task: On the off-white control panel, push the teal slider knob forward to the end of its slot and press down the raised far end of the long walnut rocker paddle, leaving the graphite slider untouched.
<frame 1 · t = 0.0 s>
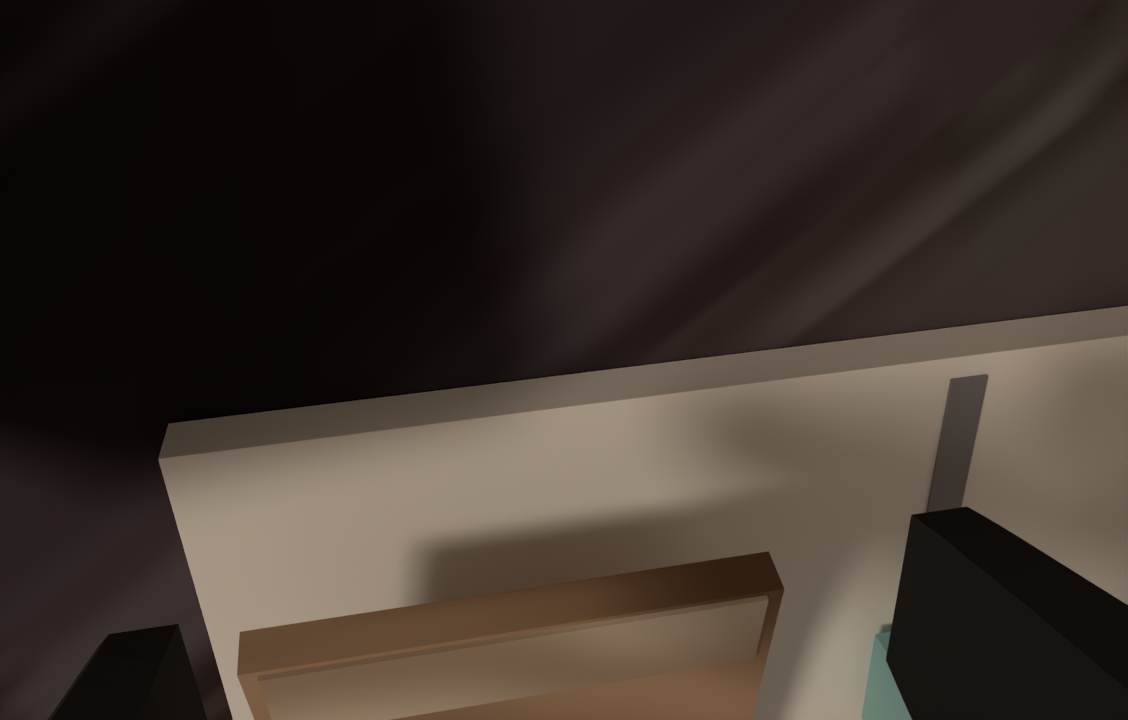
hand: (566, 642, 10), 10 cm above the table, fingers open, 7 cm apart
panel: (782, 624, 25), on the table
teal slider: (953, 716, 23), point 3 cm above the table, slide at 0.0 cm
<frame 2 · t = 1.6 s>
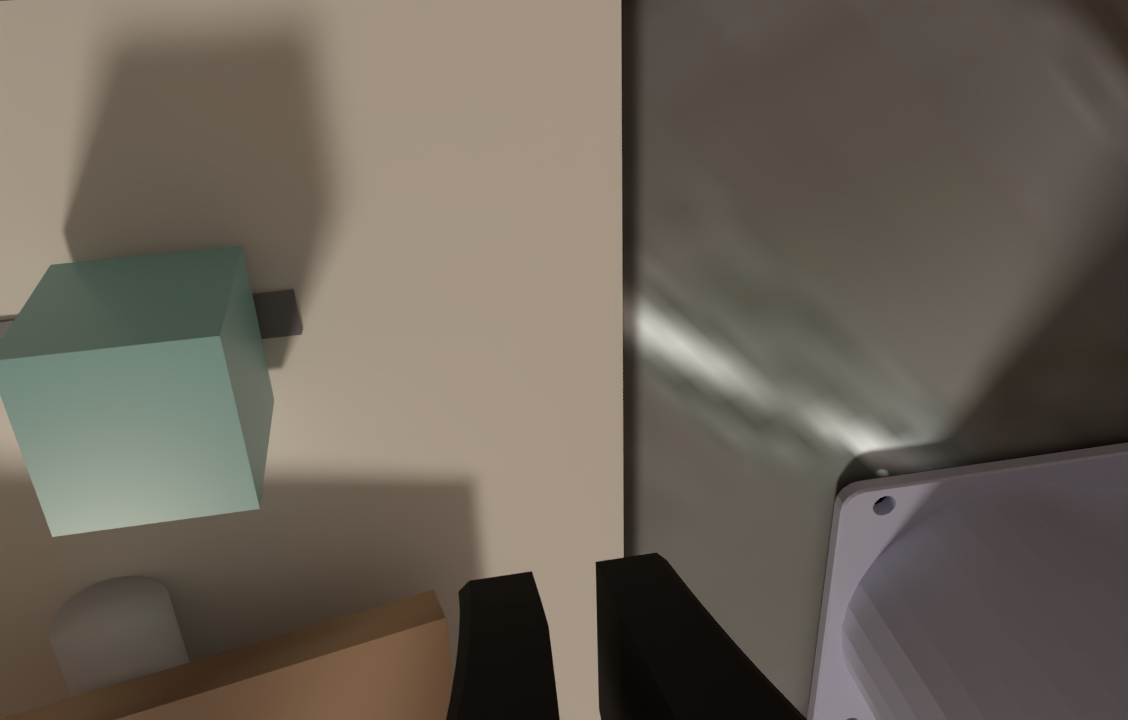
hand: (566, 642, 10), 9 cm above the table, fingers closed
panel: (191, 440, 19), on the table
teal slider: (152, 383, 15), point 3 cm above the table, slide at 0.0 cm
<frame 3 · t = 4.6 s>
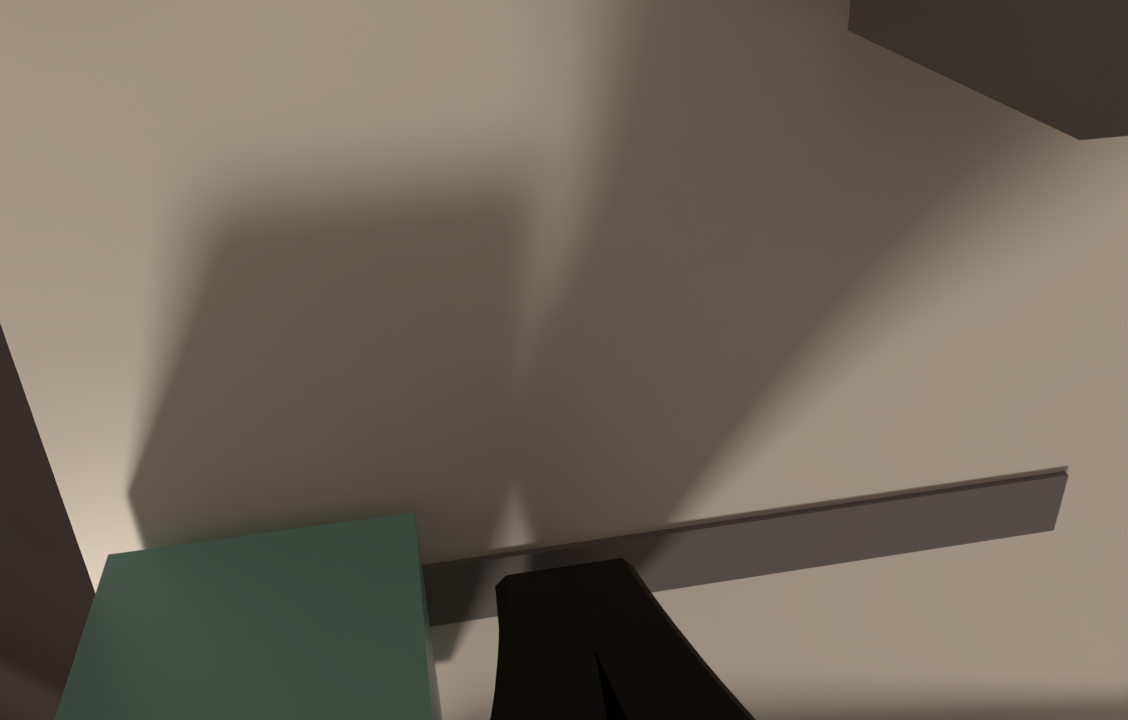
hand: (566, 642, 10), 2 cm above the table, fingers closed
panel: (793, 645, 14), on the table
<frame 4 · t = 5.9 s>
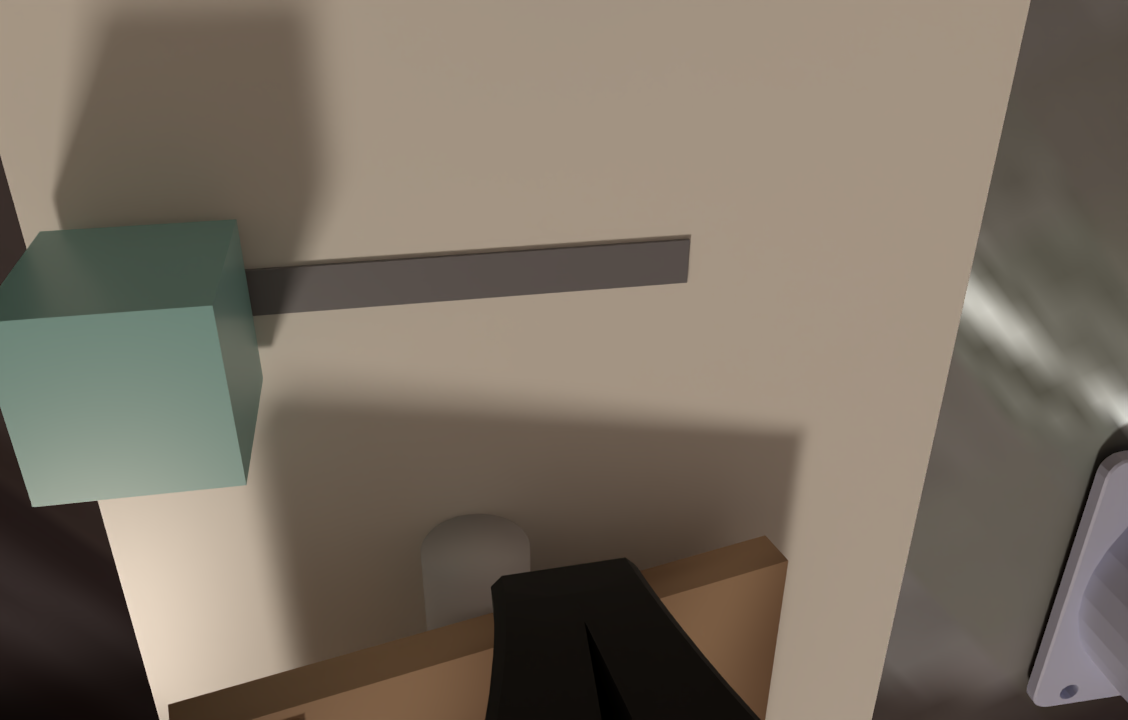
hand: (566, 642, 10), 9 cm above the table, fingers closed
panel: (536, 386, 19), on the table
teal slider: (140, 354, 14), point 3 cm above the table, slide at 6.7 cm
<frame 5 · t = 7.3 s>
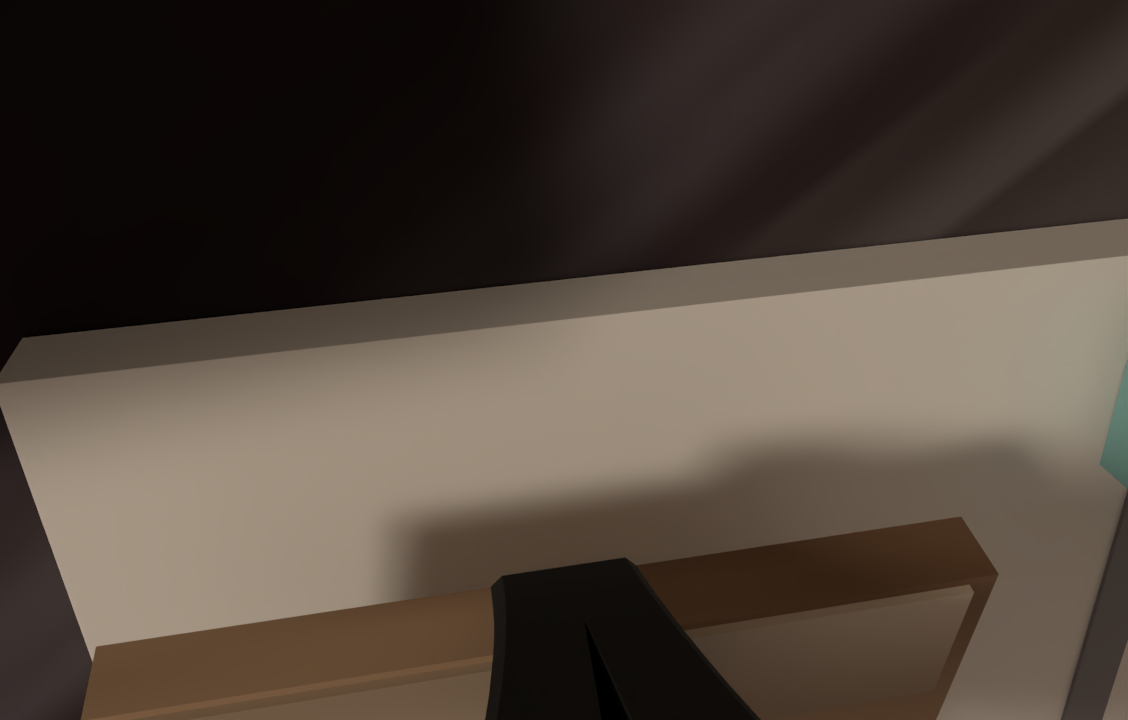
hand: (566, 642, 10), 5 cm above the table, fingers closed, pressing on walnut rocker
panel: (905, 644, 18), on the table
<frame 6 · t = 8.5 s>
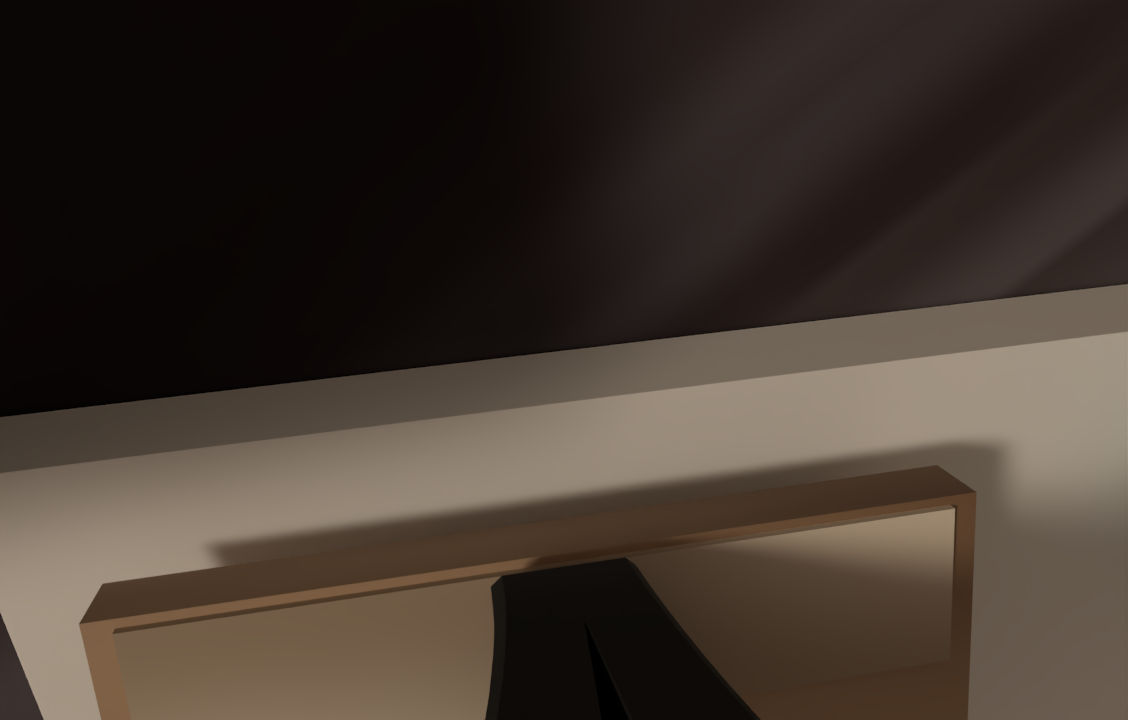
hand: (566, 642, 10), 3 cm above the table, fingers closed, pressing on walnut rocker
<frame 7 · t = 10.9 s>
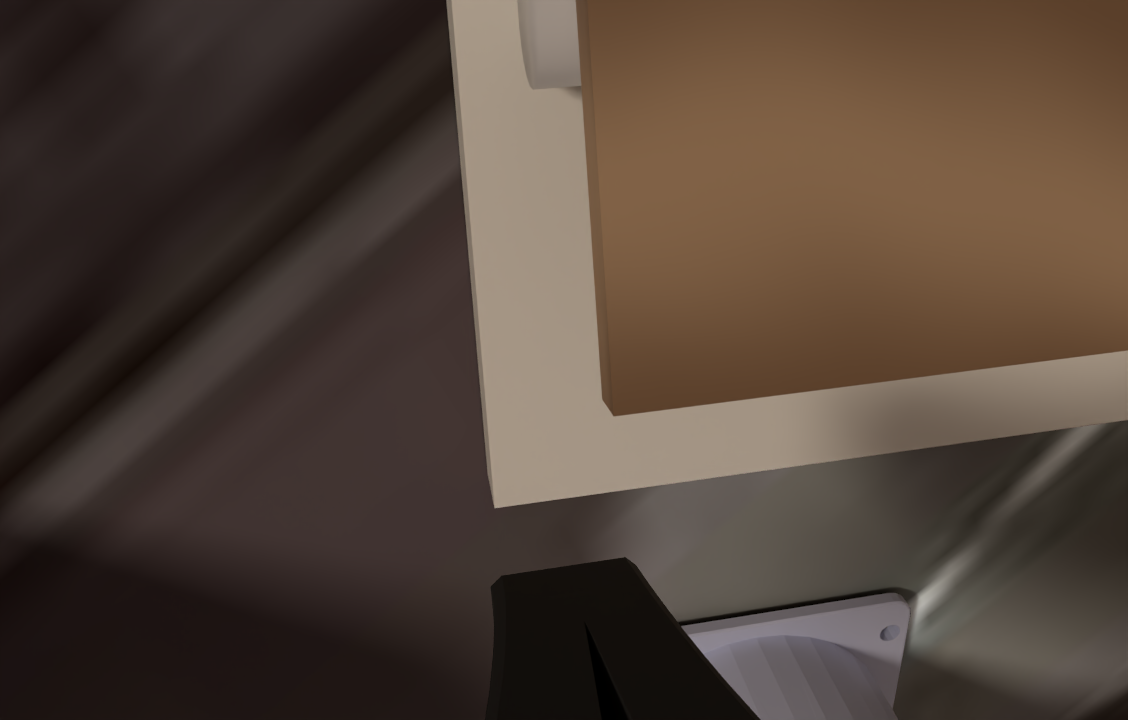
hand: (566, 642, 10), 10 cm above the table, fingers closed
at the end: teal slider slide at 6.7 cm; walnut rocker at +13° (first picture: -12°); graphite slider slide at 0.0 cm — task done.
